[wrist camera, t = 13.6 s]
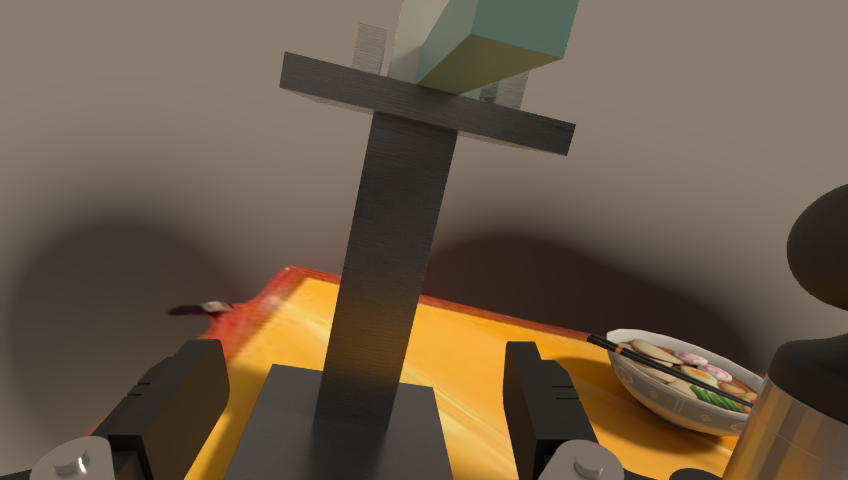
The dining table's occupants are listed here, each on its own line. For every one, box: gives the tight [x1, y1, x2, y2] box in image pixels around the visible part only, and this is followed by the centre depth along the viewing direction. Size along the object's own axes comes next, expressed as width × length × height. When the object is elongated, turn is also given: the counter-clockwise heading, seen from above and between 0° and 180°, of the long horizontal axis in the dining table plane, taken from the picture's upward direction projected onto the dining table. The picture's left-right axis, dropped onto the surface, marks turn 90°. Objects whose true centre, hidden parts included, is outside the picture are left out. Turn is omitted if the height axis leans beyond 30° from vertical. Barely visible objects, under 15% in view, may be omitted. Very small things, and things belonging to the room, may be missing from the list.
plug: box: [387, 0, 579, 100], centre depth 24 cm, size 6×26×6 cm, turn 6°
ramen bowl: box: [587, 329, 764, 436], centre depth 64 cm, size 25×23×8 cm
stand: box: [223, 23, 576, 480], centre depth 39 cm, size 18×18×34 cm
